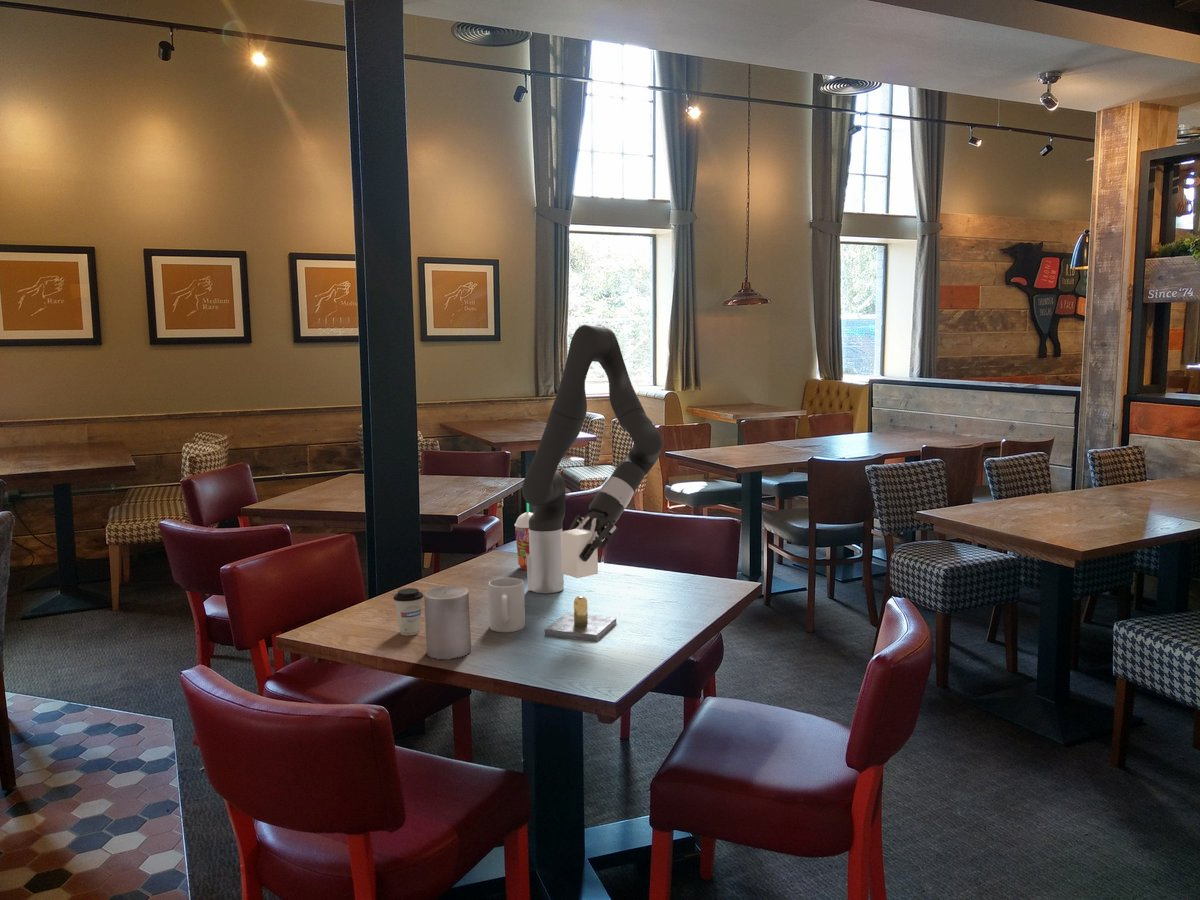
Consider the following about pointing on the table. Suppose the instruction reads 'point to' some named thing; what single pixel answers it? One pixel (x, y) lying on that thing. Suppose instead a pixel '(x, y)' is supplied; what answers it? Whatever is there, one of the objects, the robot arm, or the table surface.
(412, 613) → the coffee cup
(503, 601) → the mug
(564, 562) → the white rectangular block
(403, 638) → the table surface
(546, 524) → the robot arm
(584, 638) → the base plate
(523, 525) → the smoothie
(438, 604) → the pillar candle
